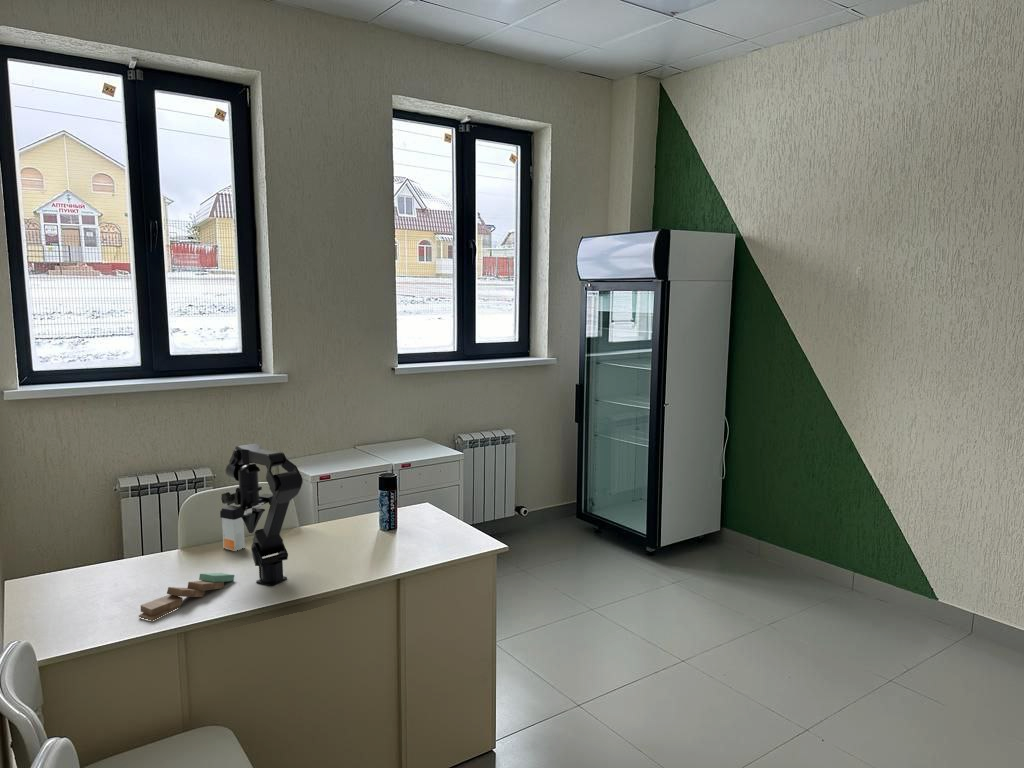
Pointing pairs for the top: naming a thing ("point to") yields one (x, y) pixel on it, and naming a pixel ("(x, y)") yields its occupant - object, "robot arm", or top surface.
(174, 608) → the brown wooden block
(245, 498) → the robot arm
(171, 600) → the tile
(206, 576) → the tile
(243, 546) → the skincare box
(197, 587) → the wooden block
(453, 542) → the top surface
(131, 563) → the top surface
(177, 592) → the tile
